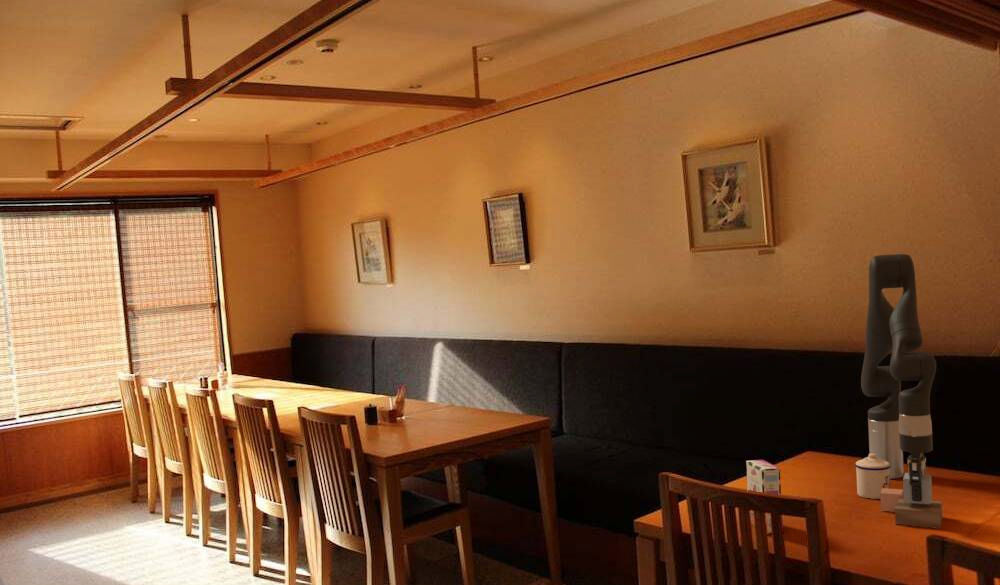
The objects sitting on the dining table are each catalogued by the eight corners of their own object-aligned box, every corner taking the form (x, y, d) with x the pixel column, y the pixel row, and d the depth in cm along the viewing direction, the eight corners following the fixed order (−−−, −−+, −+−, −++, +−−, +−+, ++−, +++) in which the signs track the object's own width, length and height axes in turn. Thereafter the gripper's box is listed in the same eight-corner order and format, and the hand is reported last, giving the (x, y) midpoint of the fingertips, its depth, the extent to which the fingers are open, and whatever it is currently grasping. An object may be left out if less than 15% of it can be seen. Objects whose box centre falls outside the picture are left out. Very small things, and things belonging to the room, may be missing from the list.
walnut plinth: (899, 513, 226) (898, 498, 226) (942, 517, 221) (941, 501, 221) (895, 524, 217) (894, 508, 217) (940, 528, 212) (939, 512, 212)
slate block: (906, 495, 223) (905, 472, 223) (932, 497, 220) (931, 474, 220) (903, 502, 218) (902, 478, 218) (930, 504, 215) (929, 480, 215)
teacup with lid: (890, 500, 237) (888, 458, 237) (855, 498, 241) (853, 457, 241) (893, 489, 248) (891, 449, 247) (858, 487, 252) (857, 447, 252)
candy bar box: (784, 533, 215) (781, 468, 214) (764, 535, 215) (761, 469, 214) (766, 520, 226) (763, 458, 226) (747, 522, 226) (744, 459, 225)
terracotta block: (883, 506, 233) (882, 488, 233) (903, 508, 230) (902, 489, 230) (881, 511, 228) (880, 492, 228) (901, 513, 226) (901, 494, 226)
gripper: (901, 425, 226) (904, 488, 227) (896, 436, 214) (899, 503, 214) (933, 426, 223) (936, 491, 223) (930, 438, 210) (932, 506, 211)
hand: (918, 497), depth 219 cm, fingers closed on slate block, 6 cm apart
